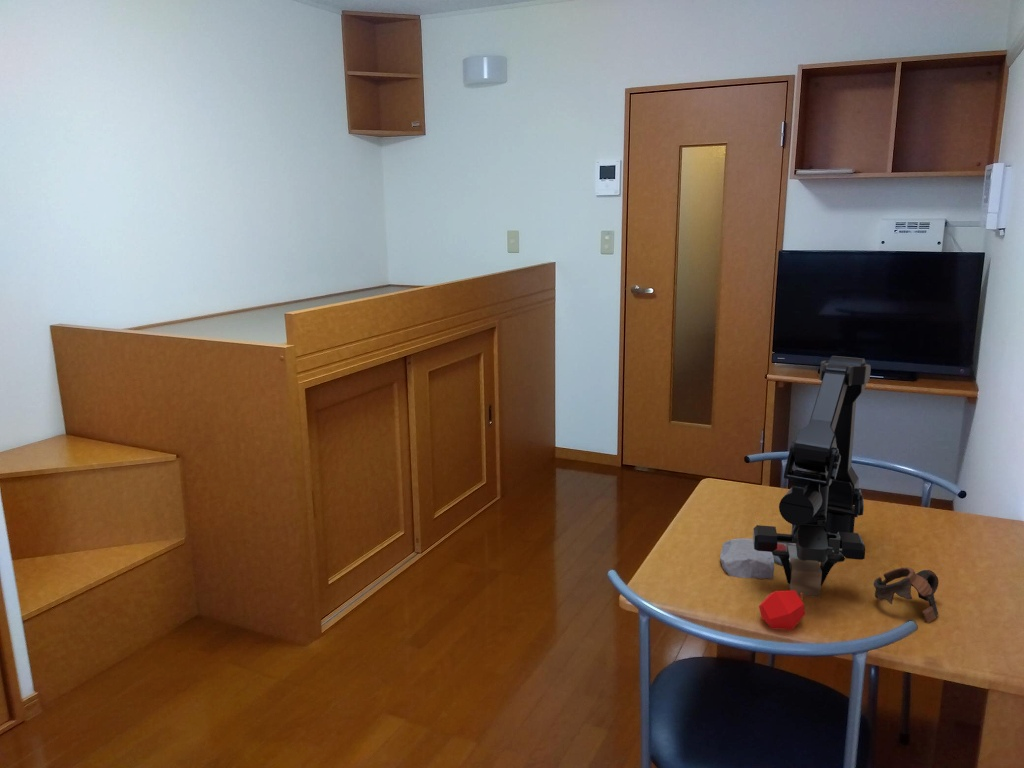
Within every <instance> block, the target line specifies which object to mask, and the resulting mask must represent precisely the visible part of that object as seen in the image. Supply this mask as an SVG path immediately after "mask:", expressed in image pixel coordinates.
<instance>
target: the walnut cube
mask: <svg viewBox="0 0 1024 768" xmlns="http://www.w3.org/2000/svg"><path fill="white" fill-rule="evenodd" d="M820 564H821V563H820V562H818V561H812V560H806V561H803V560H800V559H796V558H790V573H791V581H790V584H788V587H789V588H788V589H789V591H791V590H795V591H796V593H797V594H798V596H799V594H800V593H803V597H807V598H809V597H810V598H818V599H819V598H821V592H822V591H821V590H822V589H821V588H822V587H821V579H822V571H821V568H820Z"/></svg>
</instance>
